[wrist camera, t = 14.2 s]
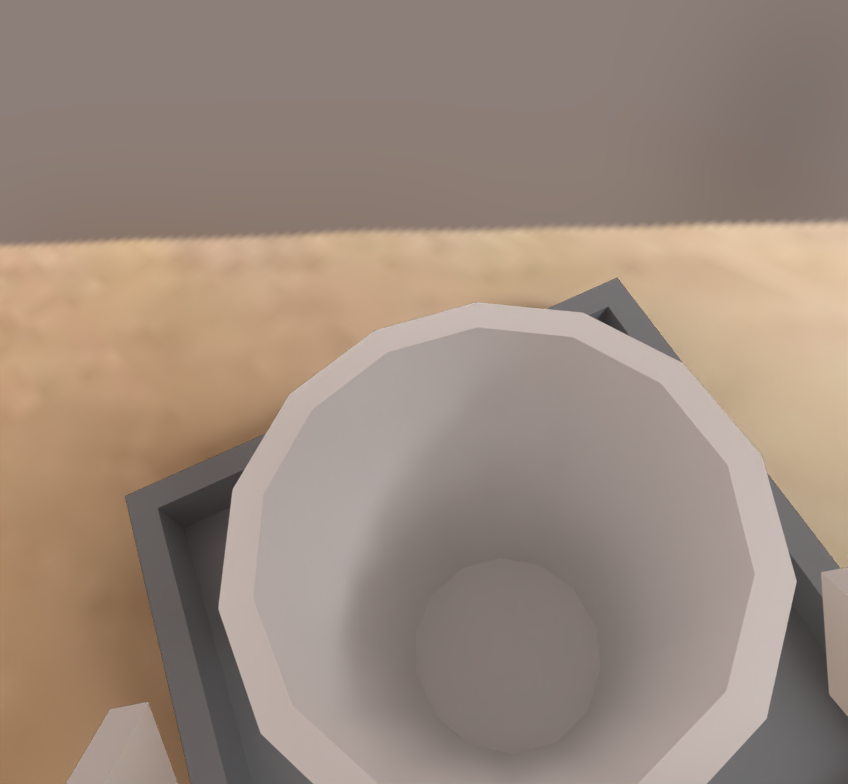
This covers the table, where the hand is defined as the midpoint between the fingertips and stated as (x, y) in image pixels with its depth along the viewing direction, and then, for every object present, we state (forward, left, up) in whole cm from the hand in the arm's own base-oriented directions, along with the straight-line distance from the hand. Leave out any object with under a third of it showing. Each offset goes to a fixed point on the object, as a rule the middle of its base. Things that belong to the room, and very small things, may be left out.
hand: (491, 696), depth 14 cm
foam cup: (-1, -2, -10) cm, 10 cm away
